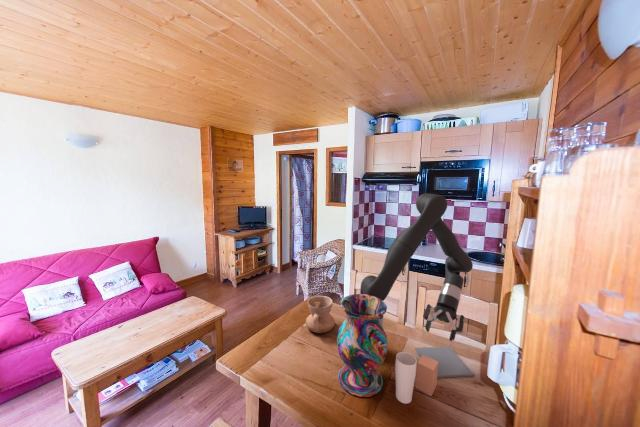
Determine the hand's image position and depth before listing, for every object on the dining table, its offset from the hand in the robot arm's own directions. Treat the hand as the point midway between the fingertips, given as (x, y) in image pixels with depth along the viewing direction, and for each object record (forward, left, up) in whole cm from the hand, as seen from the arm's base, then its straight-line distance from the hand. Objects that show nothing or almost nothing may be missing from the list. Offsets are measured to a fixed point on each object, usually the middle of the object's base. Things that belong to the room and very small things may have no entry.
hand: (438, 335), depth 98 cm
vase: (-31, -3, -15) cm, 35 cm away
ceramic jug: (-44, +30, -15) cm, 55 cm away
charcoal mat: (+5, +4, -14) cm, 16 cm away
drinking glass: (-18, -12, -15) cm, 26 cm away
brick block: (-8, -8, -15) cm, 19 cm away
